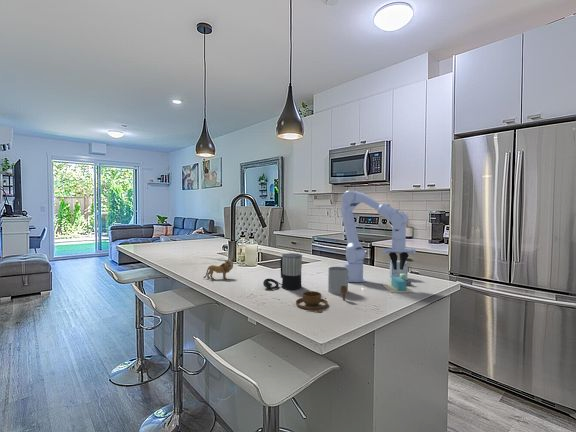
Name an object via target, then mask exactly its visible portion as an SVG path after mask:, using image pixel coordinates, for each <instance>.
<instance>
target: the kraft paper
mask: <svg viewBox="0 0 576 432" xmlns="http://www.w3.org/2000/svg"><path fill="white" fill-rule="evenodd" d="M382 286H383V287H384V288H385V289H386V290H388V291H389V292H390V293H412V291H411V290H410V289H408V288H407V287H406V291H398V290H397V289H395V288H394V287H393V286H391V284H382Z"/></svg>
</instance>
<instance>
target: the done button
mask: <svg viewBox="0 0 576 432" xmlns="http://www.w3.org/2000/svg"><path fill="white" fill-rule="evenodd" d="M400 278H401V279H403V280H405V281H407V279H408V273H407V274H404V273H401V274H400Z"/></svg>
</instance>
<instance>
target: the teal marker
mask: <svg viewBox="0 0 576 432" xmlns="http://www.w3.org/2000/svg"><path fill="white" fill-rule="evenodd" d="M390 279H391V280H390V281H391V284H390V285H391V286H393V287H394V288H395V289H397V290H398V291H406V288H407V285H406V281H405V280H403V279H401V278H400V277H392V278H390Z"/></svg>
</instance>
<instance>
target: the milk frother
mask: <svg viewBox="0 0 576 432" xmlns="http://www.w3.org/2000/svg"><path fill="white" fill-rule="evenodd" d="M302 257H303V254H300V253H296V252H295V253H294V252H293V253H291V252H290V253H289V252H287V253H283V254H281V257H280V264H279V265H280V278H281V279H282V281H281V282H278V281H277V280H276V279H273V278H266V279H264V280H263V283H262V284H263V285H262V286H264V287H265V288H266V289H268V288H269V289H268V290H275V289H278V288H279V286H280V285H281V288H282V289H284V290H289V289H291V290H290V291H292V290H294V289H295V290H300V289H302V287H303V286H302V265H303V263H302ZM273 284H275V285H274V286H273Z"/></svg>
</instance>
